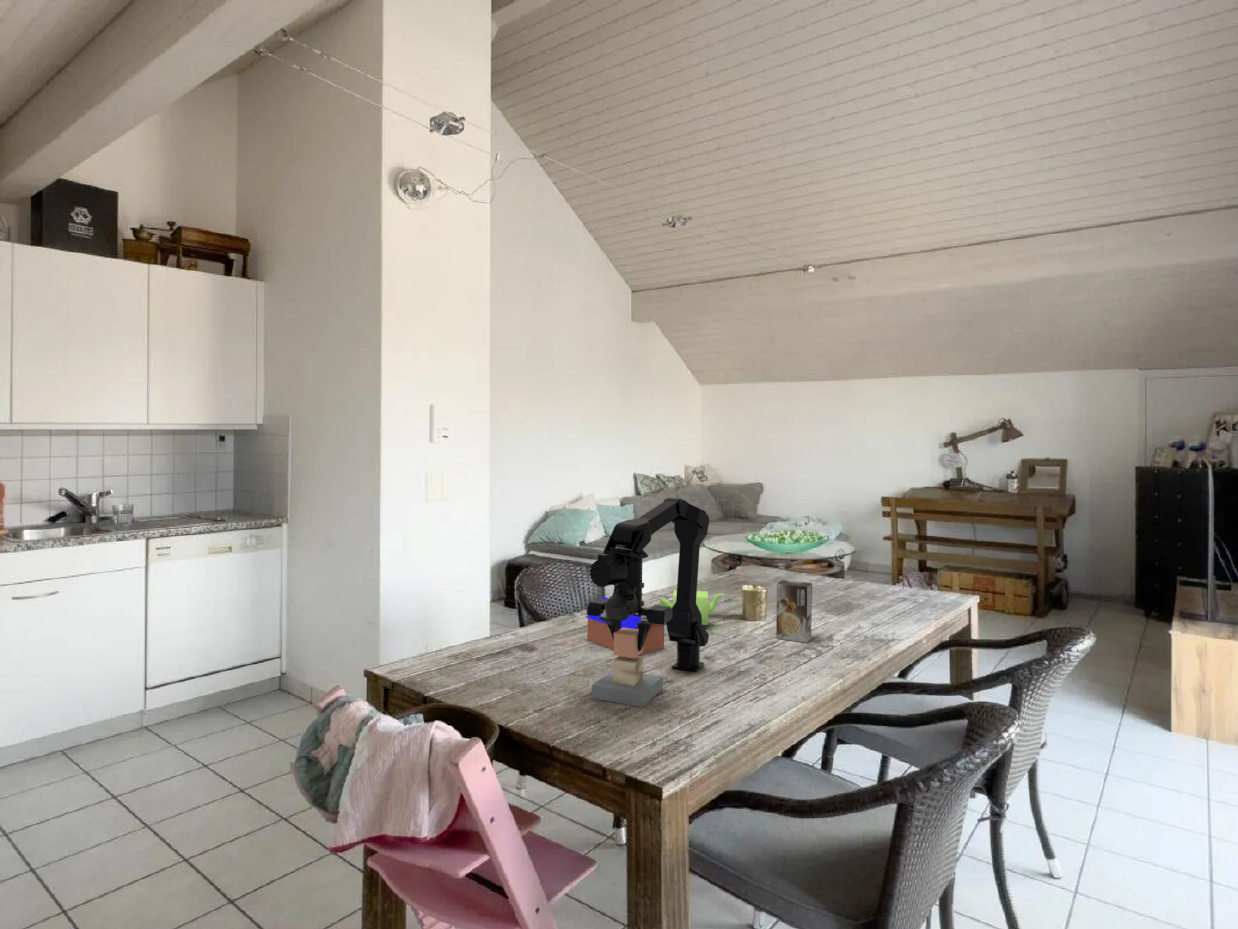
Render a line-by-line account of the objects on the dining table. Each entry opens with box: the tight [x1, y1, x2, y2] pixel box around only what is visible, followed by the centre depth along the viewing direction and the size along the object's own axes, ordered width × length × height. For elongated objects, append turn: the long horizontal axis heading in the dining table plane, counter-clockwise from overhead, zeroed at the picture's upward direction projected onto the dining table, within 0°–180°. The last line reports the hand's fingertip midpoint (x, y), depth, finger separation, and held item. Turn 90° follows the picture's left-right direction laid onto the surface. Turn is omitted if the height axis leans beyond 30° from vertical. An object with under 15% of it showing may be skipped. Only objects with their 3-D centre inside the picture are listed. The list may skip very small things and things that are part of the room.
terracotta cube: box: [613, 628, 643, 658], centre depth 162 cm, size 5×5×5 cm
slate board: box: [591, 670, 664, 708], centre depth 162 cm, size 12×12×3 cm
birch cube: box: [612, 655, 644, 686], centre depth 162 cm, size 5×5×5 cm
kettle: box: [658, 589, 725, 626], centre depth 221 cm, size 15×14×11 cm
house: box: [586, 596, 666, 656], centre depth 200 cm, size 12×20×12 cm, turn 40°
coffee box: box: [775, 579, 813, 644], centre depth 208 cm, size 9×6×16 cm
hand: (628, 649), depth 162 cm, fingers closed on terracotta cube, 5 cm apart
